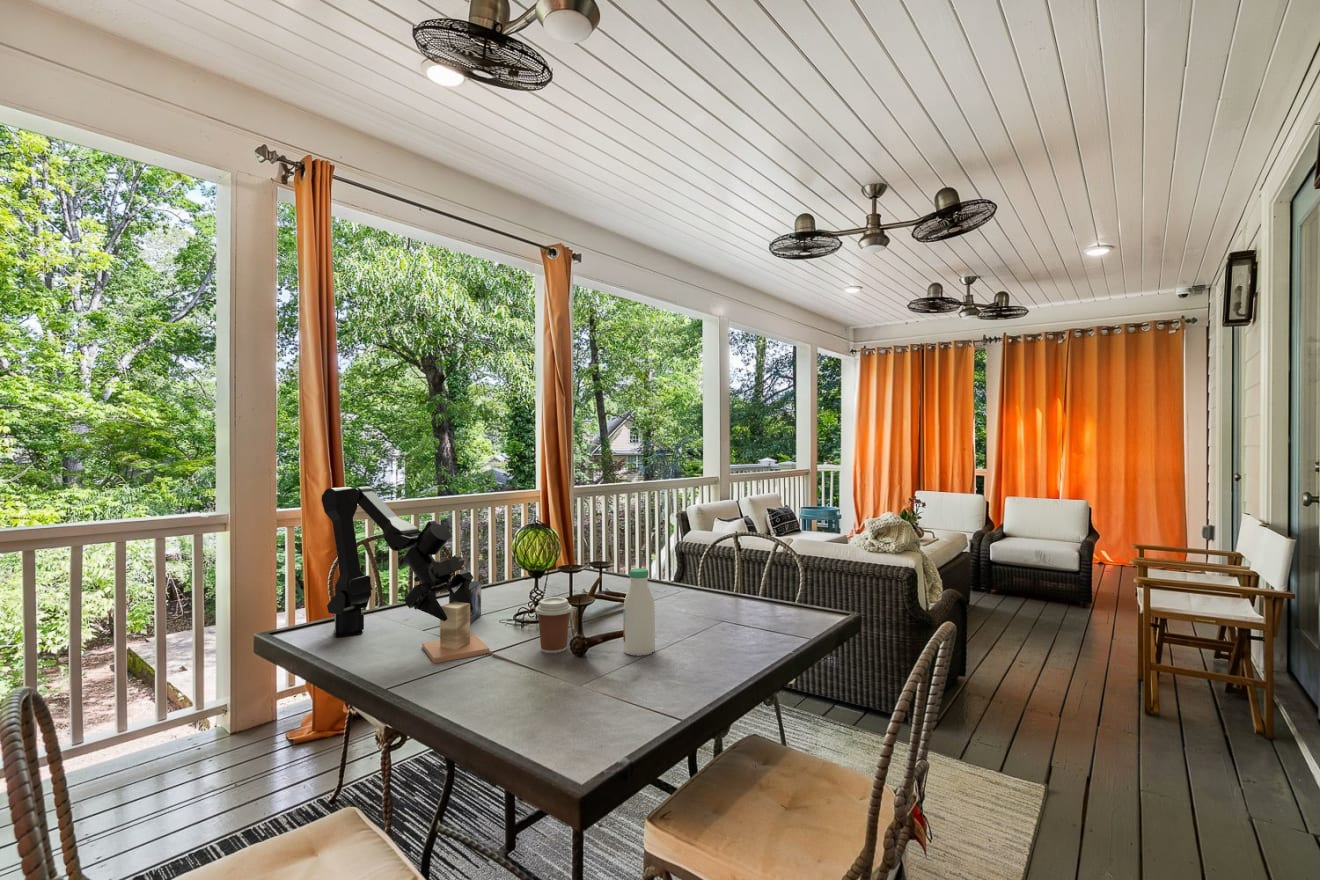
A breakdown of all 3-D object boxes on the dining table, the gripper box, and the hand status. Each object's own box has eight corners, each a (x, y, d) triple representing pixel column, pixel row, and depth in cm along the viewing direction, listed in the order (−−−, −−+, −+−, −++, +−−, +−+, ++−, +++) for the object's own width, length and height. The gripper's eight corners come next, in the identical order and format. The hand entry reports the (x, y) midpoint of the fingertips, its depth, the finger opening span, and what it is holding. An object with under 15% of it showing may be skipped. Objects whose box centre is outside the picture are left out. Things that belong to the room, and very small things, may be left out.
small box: (470, 626, 173) (470, 588, 173) (447, 626, 173) (447, 588, 173) (482, 615, 184) (482, 580, 184) (460, 615, 184) (460, 580, 184)
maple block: (456, 650, 149) (456, 608, 149) (440, 647, 151) (440, 606, 151) (470, 643, 154) (470, 603, 154) (454, 641, 156) (454, 601, 156)
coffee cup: (528, 652, 151) (527, 603, 151) (547, 641, 159) (547, 594, 159) (561, 657, 148) (560, 606, 148) (578, 645, 156) (578, 597, 156)
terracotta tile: (433, 663, 143) (433, 658, 143) (422, 647, 154) (422, 642, 154) (489, 653, 150) (489, 648, 150) (474, 638, 161) (474, 634, 161)
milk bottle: (661, 651, 152) (661, 569, 152) (639, 659, 146) (639, 574, 146) (639, 644, 157) (639, 565, 157) (616, 651, 151) (616, 569, 151)
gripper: (414, 551, 146) (451, 603, 141) (467, 540, 163) (502, 585, 158) (389, 582, 149) (424, 633, 144) (444, 568, 166) (477, 613, 161)
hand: (459, 615), depth 152 cm, fingers open, 9 cm apart
